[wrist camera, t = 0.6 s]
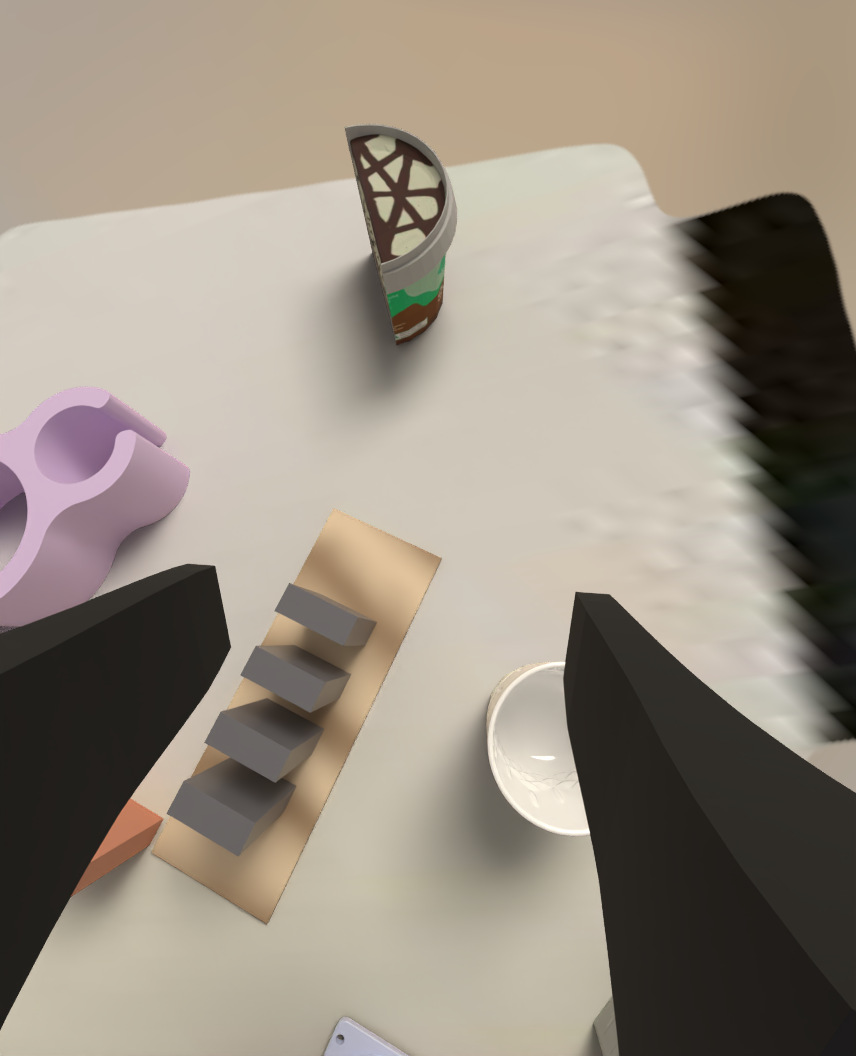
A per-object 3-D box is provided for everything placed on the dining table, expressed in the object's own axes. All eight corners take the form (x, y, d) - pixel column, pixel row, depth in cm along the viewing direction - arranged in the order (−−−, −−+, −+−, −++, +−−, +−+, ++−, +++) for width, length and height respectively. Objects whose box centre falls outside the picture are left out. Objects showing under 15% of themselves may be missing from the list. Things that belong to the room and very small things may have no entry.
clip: (141, 395, 41) (79, 347, 35) (218, 510, 39) (167, 482, 32) (-73, 540, 39) (-182, 519, 33) (-8, 670, 37) (-112, 676, 30)
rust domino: (149, 845, 33) (70, 896, 27) (94, 811, 34) (3, 853, 27) (163, 818, 34) (89, 863, 27) (108, 785, 34) (22, 821, 28)
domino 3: (311, 754, 34) (275, 782, 27) (254, 722, 34) (204, 742, 28) (324, 728, 34) (291, 750, 27) (267, 698, 35) (220, 711, 28)
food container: (474, 342, 40) (479, 247, 31) (400, 361, 40) (382, 272, 31) (437, 220, 43) (431, 98, 33) (368, 238, 43) (342, 120, 33)
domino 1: (365, 645, 35) (343, 645, 28) (309, 616, 36) (274, 610, 29) (377, 621, 35) (357, 617, 29) (321, 594, 36) (289, 583, 29)
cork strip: (268, 921, 32) (266, 924, 32) (153, 850, 33) (151, 852, 33) (441, 559, 37) (441, 558, 36) (334, 509, 38) (333, 508, 38)
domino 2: (339, 698, 34) (310, 712, 28) (282, 668, 35) (240, 675, 28) (351, 674, 35) (325, 682, 28) (294, 645, 35) (255, 645, 29)
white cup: (621, 724, 33) (688, 758, 24) (534, 805, 33) (566, 875, 23) (540, 632, 35) (571, 628, 25) (455, 708, 34) (454, 734, 24)
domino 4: (283, 812, 33) (238, 856, 26) (225, 778, 34) (166, 813, 27) (296, 785, 33) (255, 822, 27) (238, 753, 34) (183, 781, 27)
